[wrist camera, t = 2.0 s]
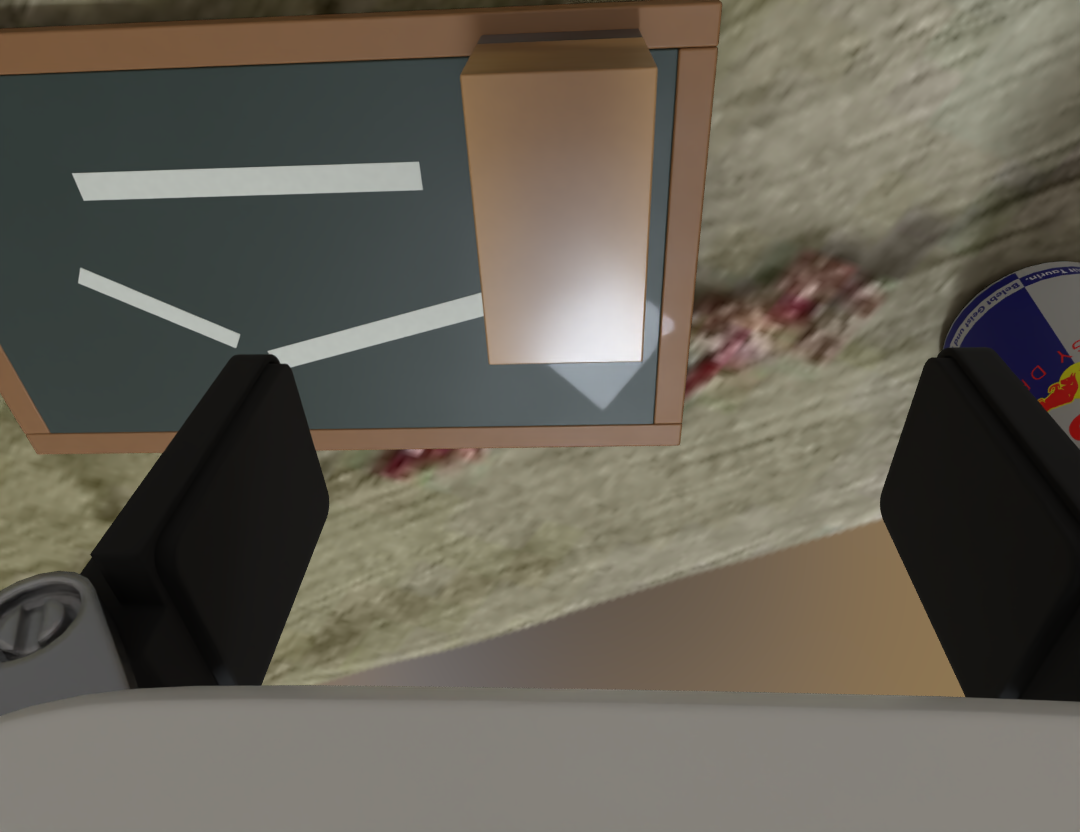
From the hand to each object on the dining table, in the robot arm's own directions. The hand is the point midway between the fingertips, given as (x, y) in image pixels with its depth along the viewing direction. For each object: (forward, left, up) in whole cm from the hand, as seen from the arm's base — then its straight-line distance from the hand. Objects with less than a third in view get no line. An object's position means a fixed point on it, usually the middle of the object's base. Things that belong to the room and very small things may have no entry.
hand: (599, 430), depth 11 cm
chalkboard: (-9, -3, -12) cm, 15 cm away
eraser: (-1, 0, -12) cm, 12 cm away
